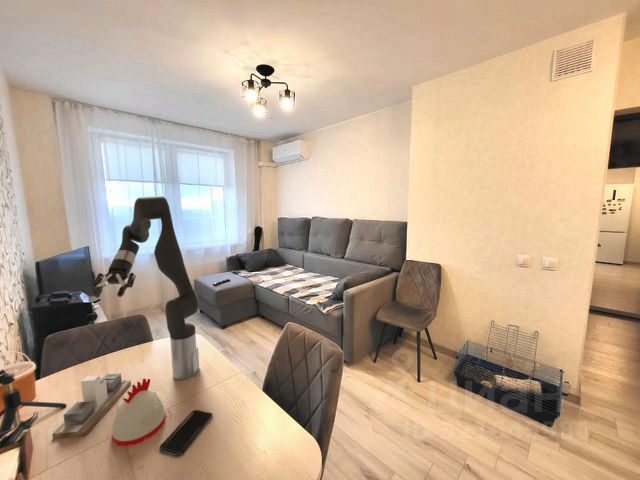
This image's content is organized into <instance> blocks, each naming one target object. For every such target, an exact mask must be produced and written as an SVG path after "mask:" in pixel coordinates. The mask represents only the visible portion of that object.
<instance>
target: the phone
mask: <svg viewBox="0 0 640 480" xmlns="http://www.w3.org/2000/svg"><path fill="white" fill-rule="evenodd" d="M212 419H213V413H212V412H207V411H203V410H199V409H194V410H192V411H191V412H190V413H189V414H188V415H187V416H186V417H185V419H183V421H182V422H181V423H180V424H179V425H178V426H177V427H175V429H174V430H173V431H172V432H171V434H170V435H169V436H168V437H167V438H166V439H165V440H164V441H163V442H162V444H160V446H159V449H158V451H159V452H160V453H163V454H166V455H170V456H173V457H176V458H179V457H181V456H183V455H184V454H185V453H186V451H187V450H188V449H189V448H190V447H191V446H192V444H193V443H194V441H195V440H196V439H197V437H198V436H199V435H200V434H201V433H202V432H203V430H204V428H206V427H207V425H208V424H209V423H210V421H211V420H212Z"/></svg>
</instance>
